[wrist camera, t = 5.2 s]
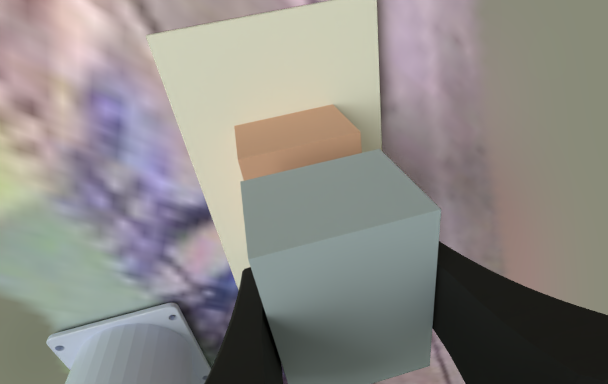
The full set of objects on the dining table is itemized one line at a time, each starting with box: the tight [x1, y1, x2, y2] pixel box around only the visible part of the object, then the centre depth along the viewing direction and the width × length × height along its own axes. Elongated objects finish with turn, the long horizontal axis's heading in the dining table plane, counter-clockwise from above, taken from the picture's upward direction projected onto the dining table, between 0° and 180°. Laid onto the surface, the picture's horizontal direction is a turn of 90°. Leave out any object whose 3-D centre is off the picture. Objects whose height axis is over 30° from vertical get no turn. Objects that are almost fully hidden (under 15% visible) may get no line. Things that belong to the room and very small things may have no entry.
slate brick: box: [240, 149, 441, 384], centre depth 12 cm, size 7×5×4 cm
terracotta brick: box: [234, 104, 362, 181], centre depth 17 cm, size 7×5×4 cm
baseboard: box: [146, 0, 382, 290], centre depth 19 cm, size 16×10×1 cm, turn 9°
